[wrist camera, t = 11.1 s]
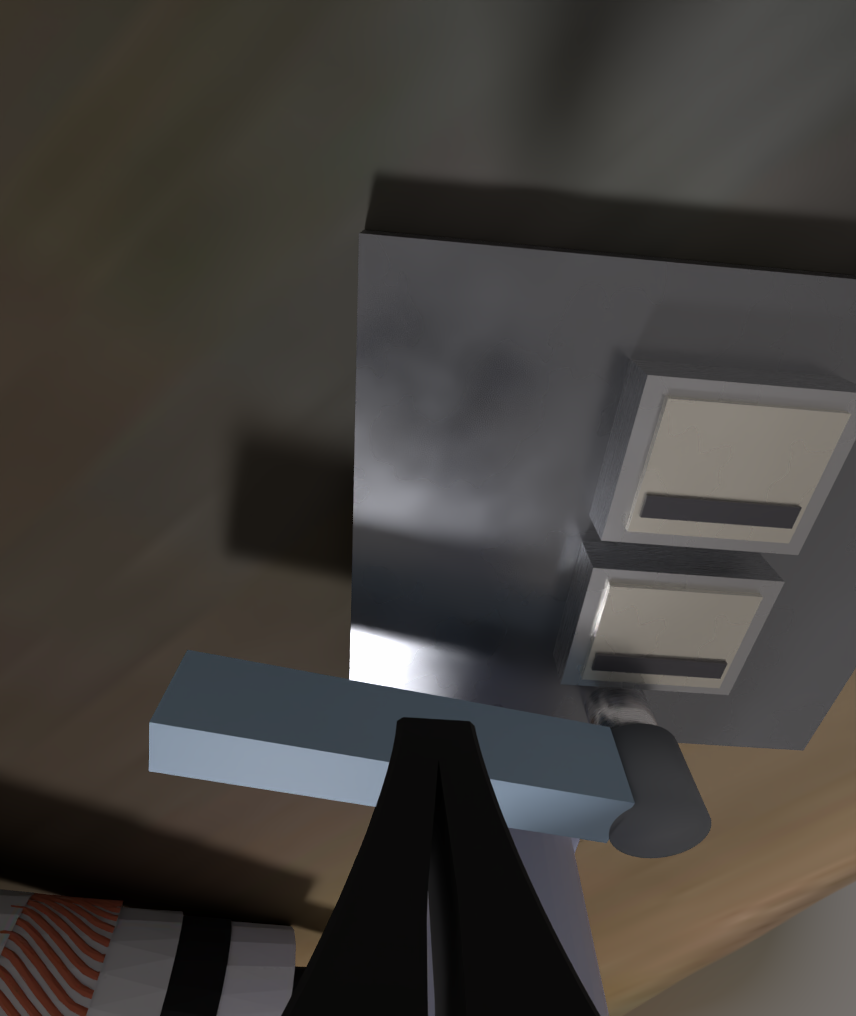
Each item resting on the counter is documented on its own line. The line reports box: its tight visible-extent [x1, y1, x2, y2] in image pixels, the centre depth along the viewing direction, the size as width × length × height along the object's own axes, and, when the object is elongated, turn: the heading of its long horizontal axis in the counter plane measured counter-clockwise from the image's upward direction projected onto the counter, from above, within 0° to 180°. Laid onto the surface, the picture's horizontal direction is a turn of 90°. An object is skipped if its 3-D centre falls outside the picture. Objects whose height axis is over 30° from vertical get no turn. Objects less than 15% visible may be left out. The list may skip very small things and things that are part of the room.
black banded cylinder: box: [0, 889, 306, 1016], centre depth 29 cm, size 10×34×10 cm, turn 64°
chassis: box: [350, 230, 856, 750], centre depth 19 cm, size 18×19×3 cm
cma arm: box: [149, 650, 711, 858], centre depth 18 cm, size 18×3×3 cm, turn 76°
